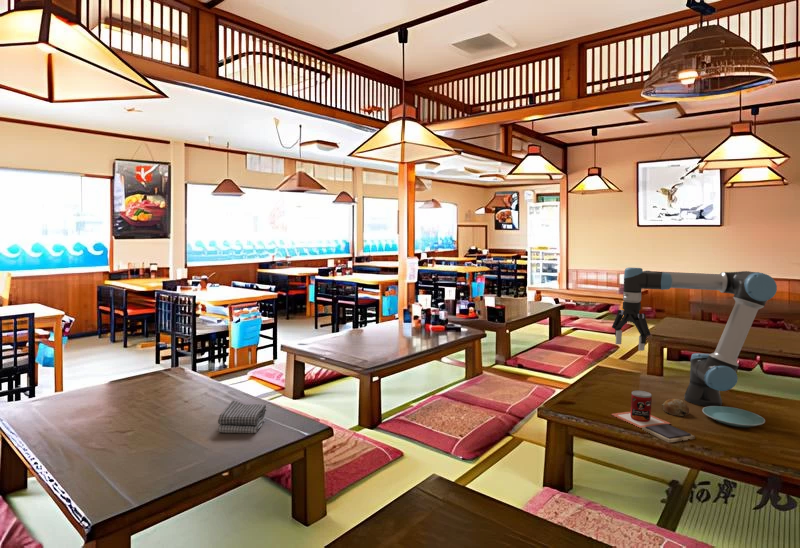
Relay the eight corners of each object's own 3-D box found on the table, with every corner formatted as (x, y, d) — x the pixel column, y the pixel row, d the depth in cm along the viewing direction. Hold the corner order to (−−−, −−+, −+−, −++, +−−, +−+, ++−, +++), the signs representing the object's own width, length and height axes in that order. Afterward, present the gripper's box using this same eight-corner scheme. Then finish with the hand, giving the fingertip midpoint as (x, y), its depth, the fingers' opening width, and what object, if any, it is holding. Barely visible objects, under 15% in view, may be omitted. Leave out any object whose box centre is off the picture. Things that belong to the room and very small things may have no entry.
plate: (735, 433, 194) (735, 426, 194) (689, 413, 216) (690, 407, 215) (778, 429, 200) (779, 422, 199) (730, 410, 221) (730, 404, 221)
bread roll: (671, 423, 212) (678, 410, 209) (655, 406, 221) (662, 393, 217) (689, 422, 215) (697, 408, 211) (672, 405, 224) (680, 392, 220)
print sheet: (640, 411, 217) (640, 410, 217) (670, 424, 201) (670, 423, 201) (611, 415, 211) (611, 413, 211) (640, 428, 196) (640, 427, 196)
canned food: (629, 420, 205) (631, 394, 204) (630, 414, 212) (632, 389, 211) (650, 423, 201) (651, 397, 200) (650, 417, 208) (652, 392, 207)
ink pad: (666, 426, 199) (666, 422, 199) (694, 438, 187) (695, 434, 187) (641, 429, 195) (641, 425, 195) (668, 442, 183) (669, 438, 183)
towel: (216, 435, 183) (216, 415, 182) (230, 417, 201) (230, 399, 200) (258, 435, 184) (257, 414, 183) (267, 417, 202) (267, 398, 201)
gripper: (605, 298, 234) (603, 342, 235) (647, 305, 210) (645, 353, 212) (617, 298, 236) (615, 341, 238) (660, 304, 213) (658, 352, 214)
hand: (629, 347), depth 225 cm, fingers open, 13 cm apart
